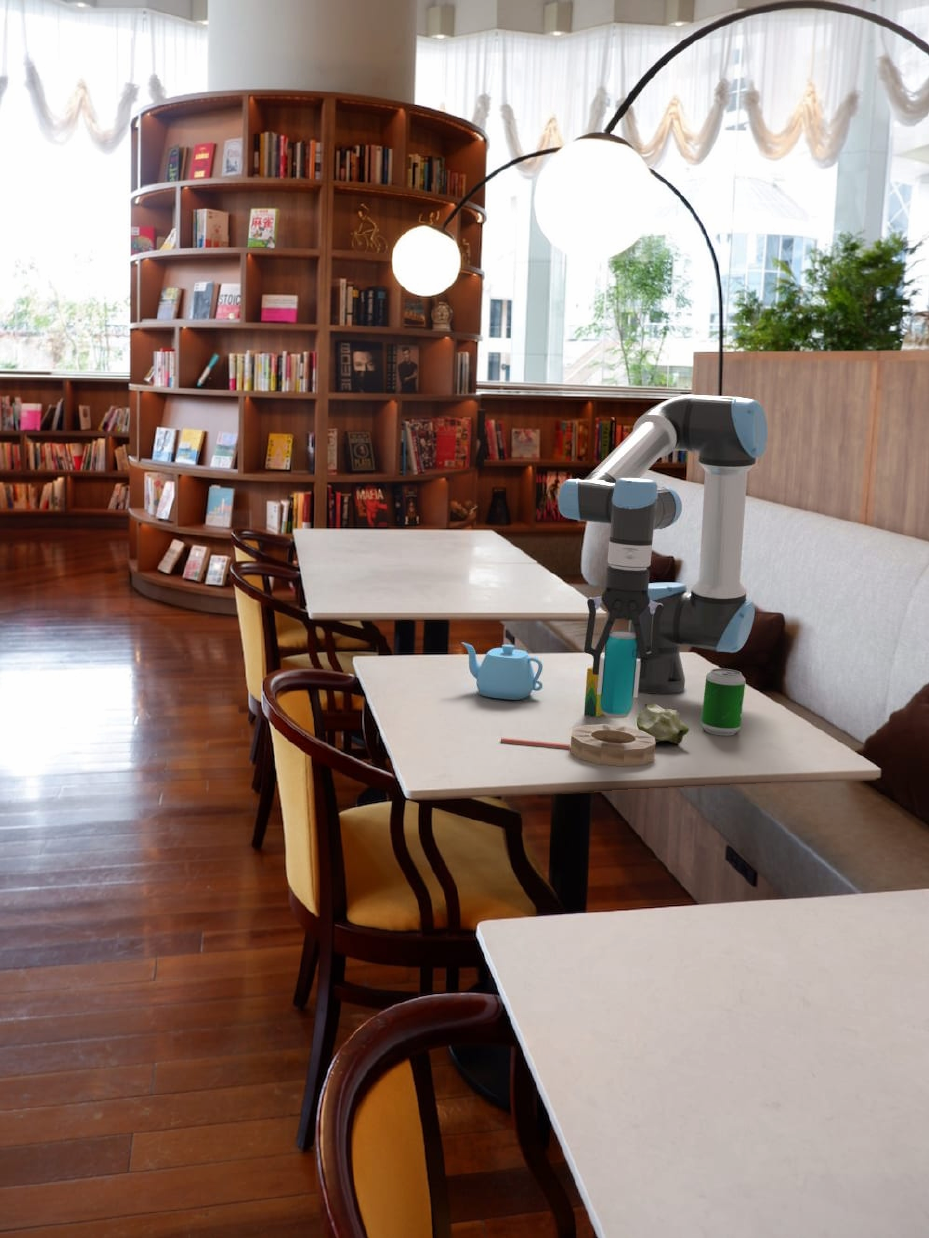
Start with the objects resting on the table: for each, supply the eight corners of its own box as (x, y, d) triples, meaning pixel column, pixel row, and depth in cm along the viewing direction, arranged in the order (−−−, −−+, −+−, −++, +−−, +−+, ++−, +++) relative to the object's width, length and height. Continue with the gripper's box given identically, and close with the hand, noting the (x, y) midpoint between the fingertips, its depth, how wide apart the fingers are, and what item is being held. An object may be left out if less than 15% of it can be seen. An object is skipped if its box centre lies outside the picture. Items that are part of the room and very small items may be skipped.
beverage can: (634, 713, 217) (641, 632, 214) (627, 720, 211) (635, 638, 208) (603, 708, 219) (610, 628, 216) (596, 716, 213) (603, 634, 210)
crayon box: (600, 708, 246) (605, 653, 244) (613, 711, 244) (618, 655, 242) (582, 714, 240) (587, 658, 238) (595, 718, 238) (600, 661, 236)
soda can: (740, 738, 230) (746, 678, 228) (700, 734, 232) (706, 674, 229) (739, 728, 237) (745, 669, 235) (700, 723, 239) (706, 665, 236)
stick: (501, 740, 219) (501, 737, 219) (569, 747, 218) (569, 744, 218) (500, 742, 218) (500, 739, 218) (569, 748, 217) (569, 745, 217)
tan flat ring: (572, 736, 225) (573, 721, 224) (652, 744, 223) (654, 728, 222) (568, 760, 210) (570, 744, 209) (654, 769, 208) (656, 752, 208)
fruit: (629, 741, 229) (635, 700, 229) (676, 747, 229) (682, 706, 229) (639, 747, 219) (645, 704, 219) (688, 753, 220) (694, 710, 220)
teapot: (468, 634, 258) (550, 643, 254) (465, 682, 260) (546, 691, 256) (453, 645, 246) (539, 655, 242) (450, 695, 248) (535, 706, 244)
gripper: (574, 565, 207) (564, 694, 212) (683, 574, 205) (670, 704, 210) (576, 559, 214) (566, 684, 219) (681, 568, 212) (669, 693, 217)
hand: (617, 693), depth 214 cm, fingers closed on beverage can, 6 cm apart
